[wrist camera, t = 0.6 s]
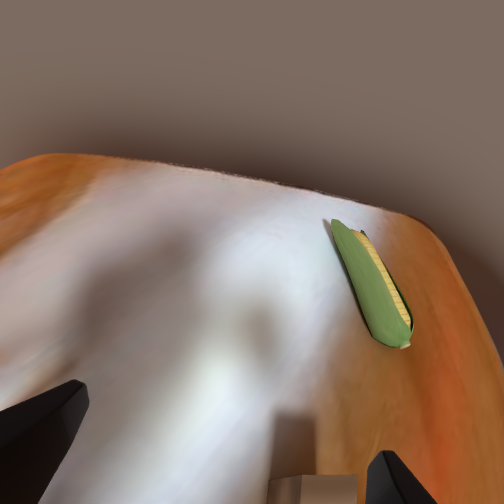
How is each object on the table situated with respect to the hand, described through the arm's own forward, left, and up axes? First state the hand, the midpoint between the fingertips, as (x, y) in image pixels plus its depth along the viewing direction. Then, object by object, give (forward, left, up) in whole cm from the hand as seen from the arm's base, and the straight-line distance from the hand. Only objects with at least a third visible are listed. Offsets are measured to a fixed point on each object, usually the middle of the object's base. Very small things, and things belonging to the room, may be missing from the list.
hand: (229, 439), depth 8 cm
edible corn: (+23, -17, -16) cm, 33 cm away
